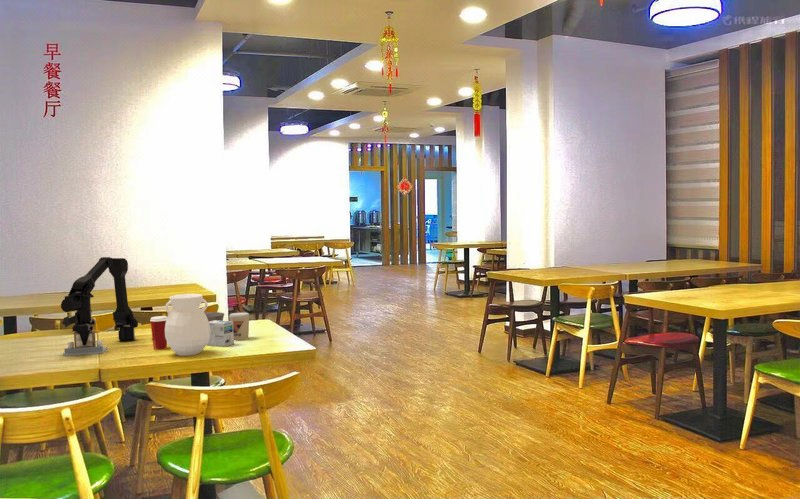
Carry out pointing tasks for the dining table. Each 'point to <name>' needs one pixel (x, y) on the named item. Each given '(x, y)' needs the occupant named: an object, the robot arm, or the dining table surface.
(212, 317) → the bowl
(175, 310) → the white vase
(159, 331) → the paper cup
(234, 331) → the coffee cup
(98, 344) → the wall panel
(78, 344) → the brown box shape
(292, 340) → the dining table surface
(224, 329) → the light bulb box
